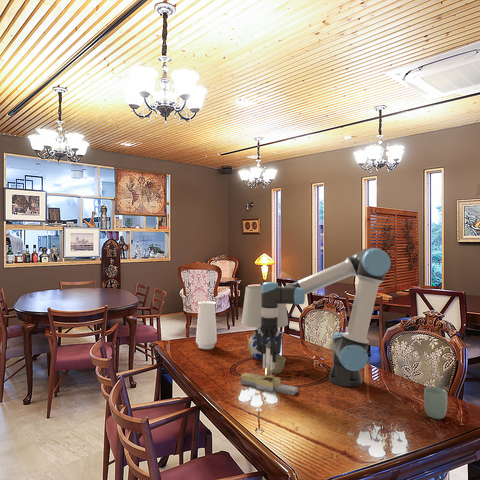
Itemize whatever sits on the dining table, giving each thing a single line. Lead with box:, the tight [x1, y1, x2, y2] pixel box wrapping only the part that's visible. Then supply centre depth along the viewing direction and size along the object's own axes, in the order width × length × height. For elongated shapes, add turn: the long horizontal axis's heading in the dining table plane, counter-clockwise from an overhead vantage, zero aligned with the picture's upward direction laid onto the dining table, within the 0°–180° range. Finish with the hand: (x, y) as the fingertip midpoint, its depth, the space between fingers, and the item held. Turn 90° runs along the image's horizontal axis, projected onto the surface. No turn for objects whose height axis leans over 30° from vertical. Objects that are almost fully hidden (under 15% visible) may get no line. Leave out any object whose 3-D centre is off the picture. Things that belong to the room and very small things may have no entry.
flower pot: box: [272, 355, 287, 375], centre depth 195 cm, size 10×10×7 cm
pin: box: [264, 342, 273, 376], centre depth 173 cm, size 4×4×14 cm
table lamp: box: [241, 285, 289, 361], centre depth 222 cm, size 27×27×40 cm
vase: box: [195, 300, 218, 350], centre depth 241 cm, size 13×13×28 cm
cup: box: [423, 386, 448, 420], centre depth 145 cm, size 8×8×10 cm
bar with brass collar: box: [240, 372, 298, 396], centre depth 172 cm, size 26×8×4 cm, turn 61°
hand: (268, 368), depth 173 cm, fingers closed on pin, 3 cm apart
